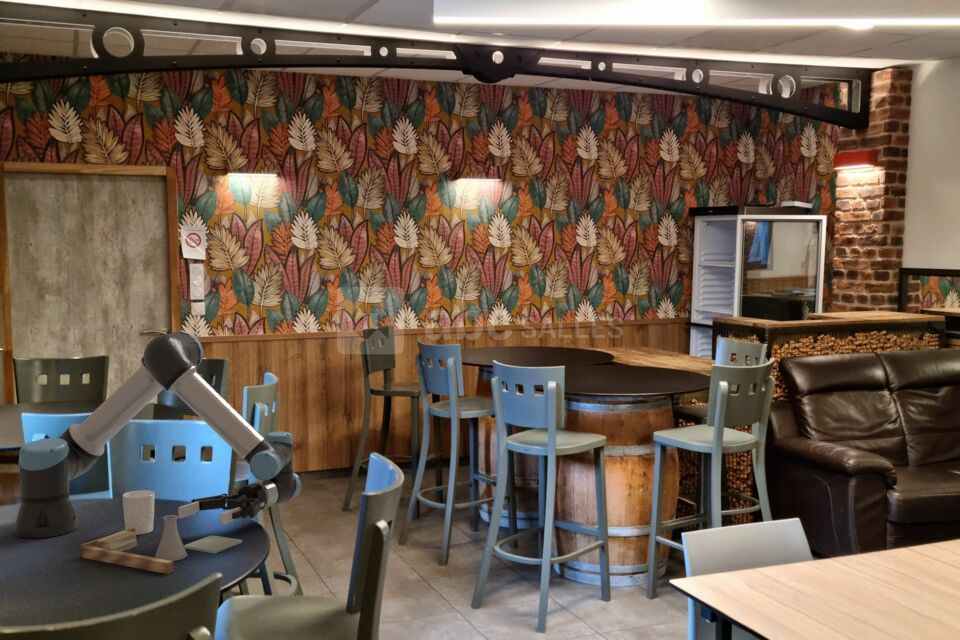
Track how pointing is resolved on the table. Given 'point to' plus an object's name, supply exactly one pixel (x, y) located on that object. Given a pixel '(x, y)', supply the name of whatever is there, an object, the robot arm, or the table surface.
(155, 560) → the corner fence
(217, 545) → the coaster
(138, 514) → the white cup
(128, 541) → the offcut top
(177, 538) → the flask
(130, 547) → the offcut low
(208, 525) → the table surface
